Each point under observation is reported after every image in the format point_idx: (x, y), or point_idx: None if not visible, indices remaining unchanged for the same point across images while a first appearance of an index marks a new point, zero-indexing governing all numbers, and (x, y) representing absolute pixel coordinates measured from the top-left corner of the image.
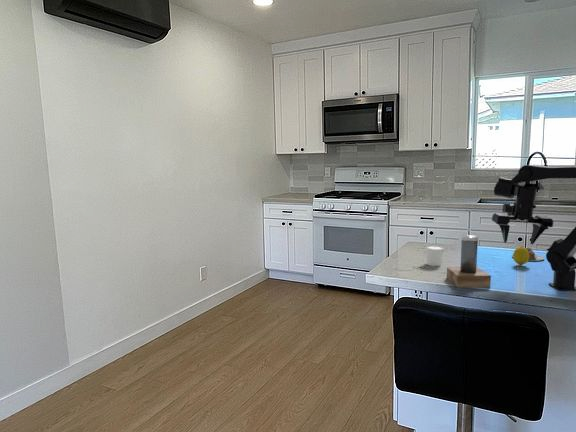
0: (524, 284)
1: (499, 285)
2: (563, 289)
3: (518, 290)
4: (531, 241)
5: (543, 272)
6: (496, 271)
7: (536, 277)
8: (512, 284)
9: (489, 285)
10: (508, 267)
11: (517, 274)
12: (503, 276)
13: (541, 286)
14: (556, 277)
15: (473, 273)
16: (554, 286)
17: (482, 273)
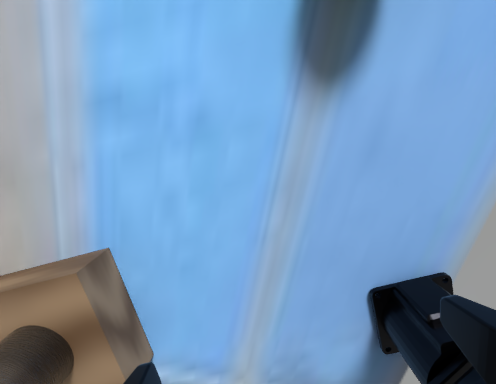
0: (280, 300)
1: (187, 330)
2: (397, 350)
3: (242, 369)
4: (466, 334)
5: (426, 86)
6: (199, 121)
7: (359, 189)
8: (235, 309)
9: (148, 359)
10: (274, 13)
11: (288, 156)
12: (219, 204)
13: (335, 311)
14: (404, 358)
15: (63, 382)
16: (378, 328)
17: (100, 374)
